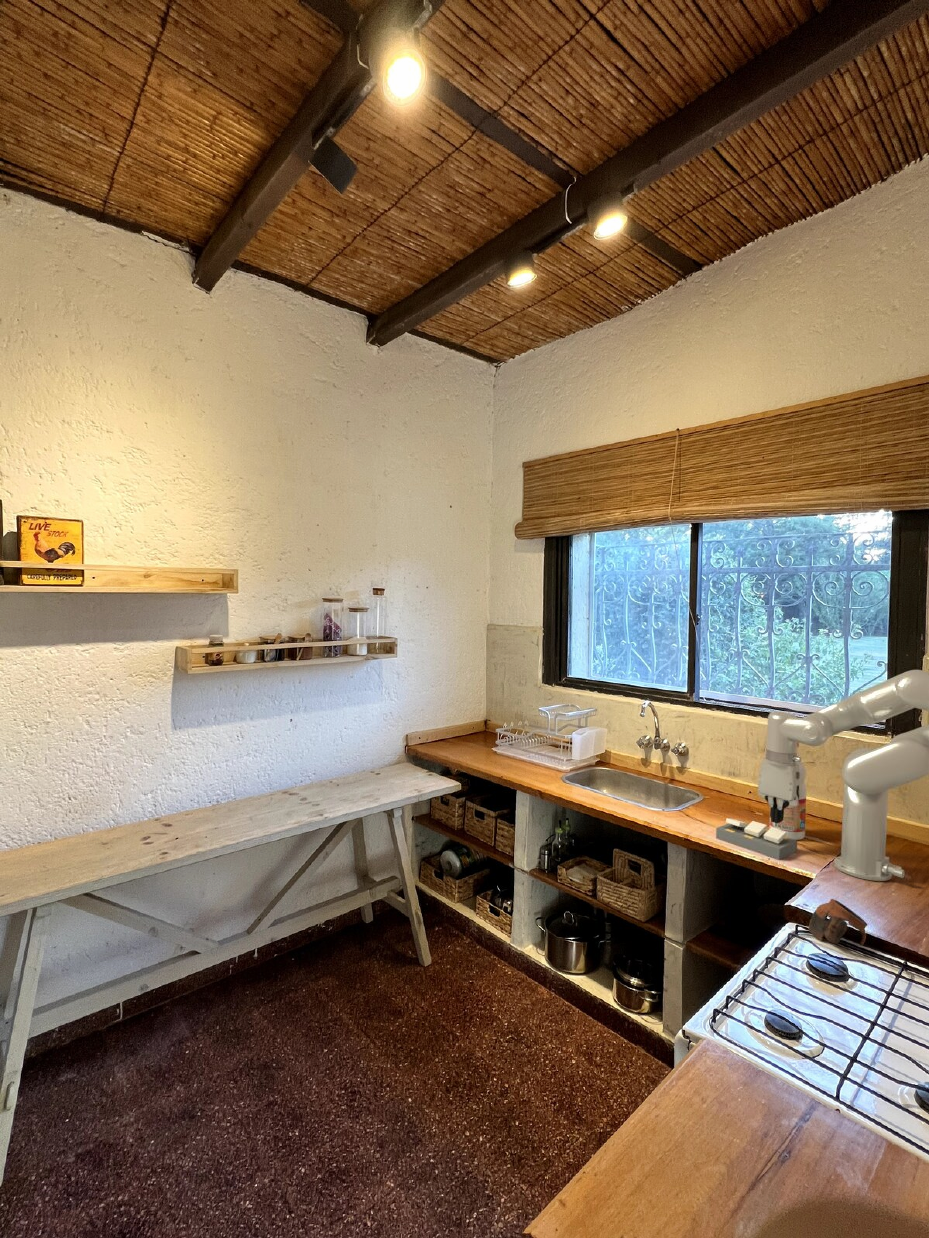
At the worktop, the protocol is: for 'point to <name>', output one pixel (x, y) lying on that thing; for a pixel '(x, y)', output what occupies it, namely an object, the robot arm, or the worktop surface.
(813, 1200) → the worktop surface
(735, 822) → the rocker
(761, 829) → the rocker
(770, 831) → the block
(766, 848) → the switch panel
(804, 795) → the fruit juice
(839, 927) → the pottery mug
